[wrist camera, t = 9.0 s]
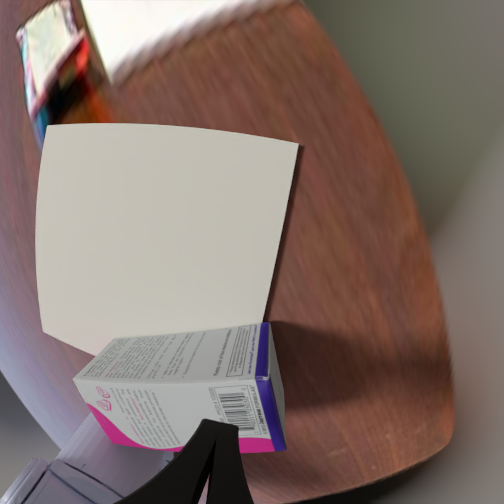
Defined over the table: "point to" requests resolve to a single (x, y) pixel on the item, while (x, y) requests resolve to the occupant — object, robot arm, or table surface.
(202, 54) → the table surface
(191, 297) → the grey mat
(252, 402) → the supplement box
